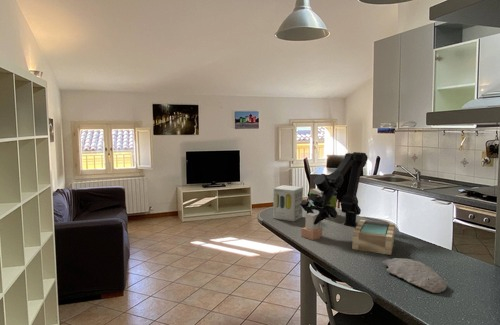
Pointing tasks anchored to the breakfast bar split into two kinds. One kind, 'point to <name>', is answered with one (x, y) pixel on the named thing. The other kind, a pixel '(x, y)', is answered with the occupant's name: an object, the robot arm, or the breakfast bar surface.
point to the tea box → (317, 191)
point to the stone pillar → (311, 221)
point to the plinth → (311, 233)
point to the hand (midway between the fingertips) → (310, 223)
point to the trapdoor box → (373, 240)
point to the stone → (416, 274)
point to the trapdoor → (375, 227)
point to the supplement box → (287, 202)
